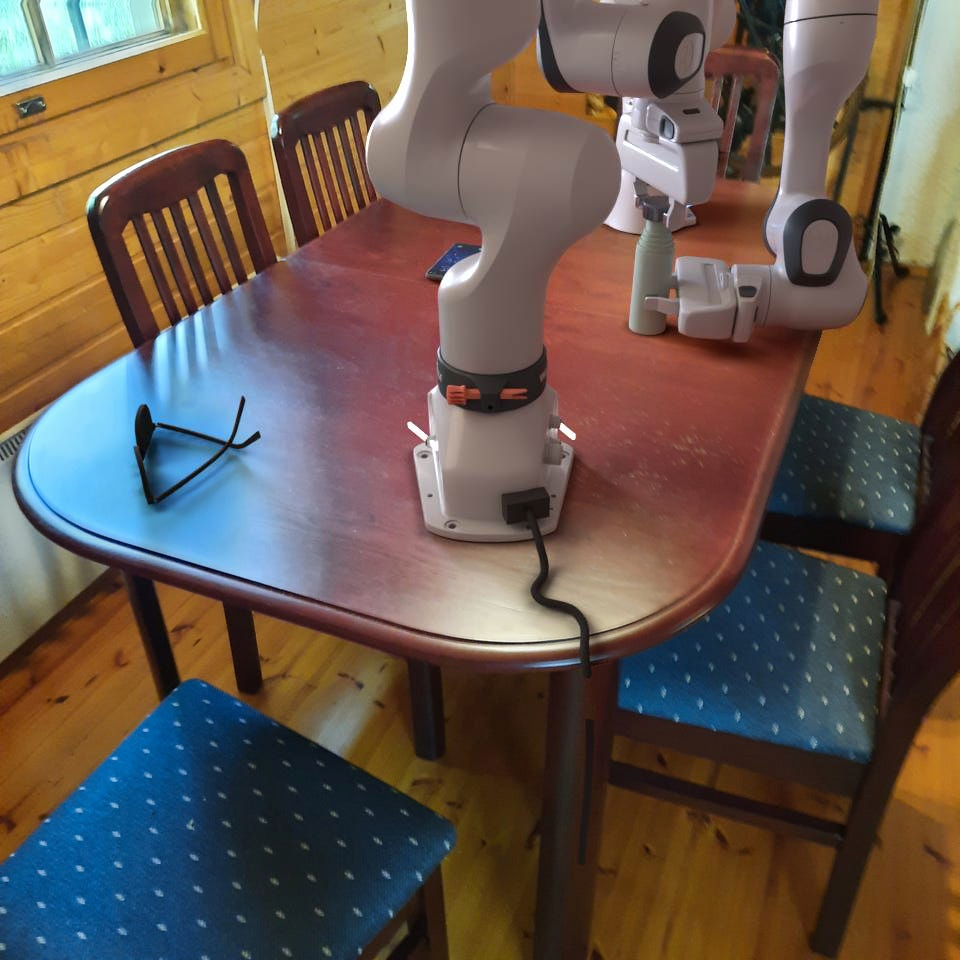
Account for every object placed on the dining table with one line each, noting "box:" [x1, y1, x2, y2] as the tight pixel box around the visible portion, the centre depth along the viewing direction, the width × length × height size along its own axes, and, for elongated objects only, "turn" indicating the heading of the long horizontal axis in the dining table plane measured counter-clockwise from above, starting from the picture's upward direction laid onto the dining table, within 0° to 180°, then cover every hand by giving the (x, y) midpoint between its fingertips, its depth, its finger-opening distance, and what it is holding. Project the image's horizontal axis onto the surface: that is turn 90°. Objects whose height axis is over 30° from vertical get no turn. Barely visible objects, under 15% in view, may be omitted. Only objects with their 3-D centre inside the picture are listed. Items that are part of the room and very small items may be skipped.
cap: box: [642, 196, 671, 222], centre depth 116 cm, size 4×4×2 cm
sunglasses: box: [132, 395, 262, 506], centre depth 100 cm, size 17×14×5 cm
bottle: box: [628, 220, 676, 336], centre depth 121 cm, size 5×5×18 cm
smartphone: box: [424, 242, 482, 282], centre depth 146 cm, size 7×1×15 cm
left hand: (655, 217), depth 117 cm, fingers open, 7 cm apart
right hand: (644, 292), depth 124 cm, fingers closed on bottle, 5 cm apart
